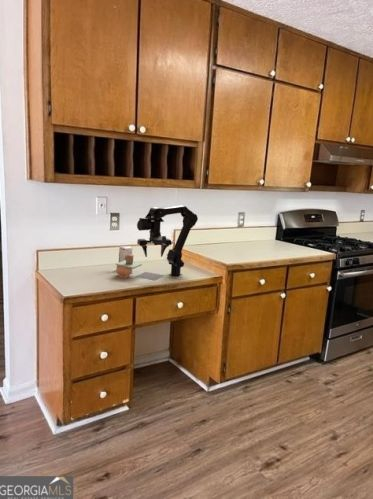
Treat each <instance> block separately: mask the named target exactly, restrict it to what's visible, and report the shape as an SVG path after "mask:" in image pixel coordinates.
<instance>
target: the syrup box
mask: <svg viewBox="0 0 373 499" xmlns="http://www.w3.org/2000/svg"><path fill="white" fill-rule="evenodd" d="M118 249H119V250H118V263H119V262H122V261H124V260H126V256H127V254H131V255H133V247H132V246H129V245H124V246H123V245H122V246H119V248H118Z"/></svg>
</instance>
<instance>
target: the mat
mask: <svg viewBox="0 0 373 499" xmlns="http://www.w3.org/2000/svg"><path fill="white" fill-rule="evenodd" d="M164 276H165V275H164V274H160V273H153V272H148V271H144V272H142V273H141V274H138V275H136V276H134V277H135V278H139V279H143V280H144V279H146V280H150V281H157V280H159V279H161V278H163V277H164Z"/></svg>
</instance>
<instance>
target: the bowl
mask: <svg viewBox="0 0 373 499" xmlns="http://www.w3.org/2000/svg"><path fill="white" fill-rule="evenodd" d="M115 272H116V274H117V275H118V277H119V278H123V279H126V278H127V279H128V278H130V277H131V275H132V274H133V269H131V268H127V267H122V266H118V265H116V271H115Z"/></svg>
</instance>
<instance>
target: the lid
mask: <svg viewBox="0 0 373 499" xmlns="http://www.w3.org/2000/svg"><path fill="white" fill-rule="evenodd" d="M115 265H116V266H117V265H118V266H122V267H127V268H131V269H132V270H134V269H136V268H138V267H141V266H143V263H140V262H136V261H135V262H134V254H132V255H131V254H127V256H126V260H124V261H122V262H119V261H118V262H117V263H115Z"/></svg>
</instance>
